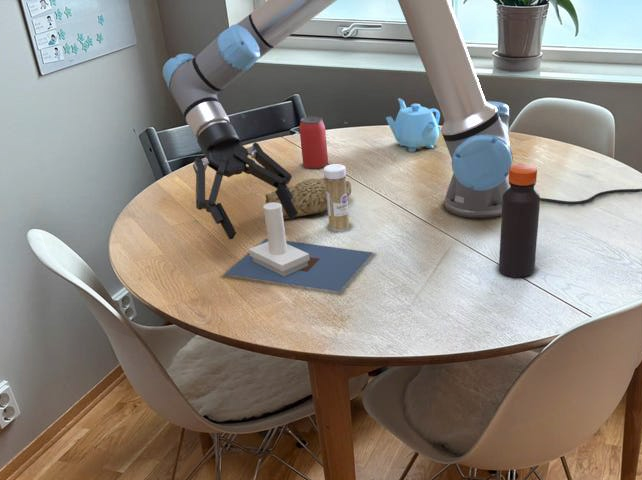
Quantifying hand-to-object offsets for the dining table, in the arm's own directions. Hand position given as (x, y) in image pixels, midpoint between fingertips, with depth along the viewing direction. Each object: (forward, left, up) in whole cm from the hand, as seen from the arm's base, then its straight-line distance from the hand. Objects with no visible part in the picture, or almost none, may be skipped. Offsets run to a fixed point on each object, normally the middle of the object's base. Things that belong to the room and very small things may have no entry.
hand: (264, 226), depth 140 cm
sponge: (+3, -26, -8) cm, 27 cm away
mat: (-7, 0, -7) cm, 10 cm away
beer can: (+15, -54, -8) cm, 56 cm away
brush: (-3, +1, -7) cm, 8 cm away
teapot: (-5, -76, -8) cm, 77 cm away
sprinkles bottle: (-7, -19, -8) cm, 22 cm away
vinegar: (-48, -10, -8) cm, 50 cm away
